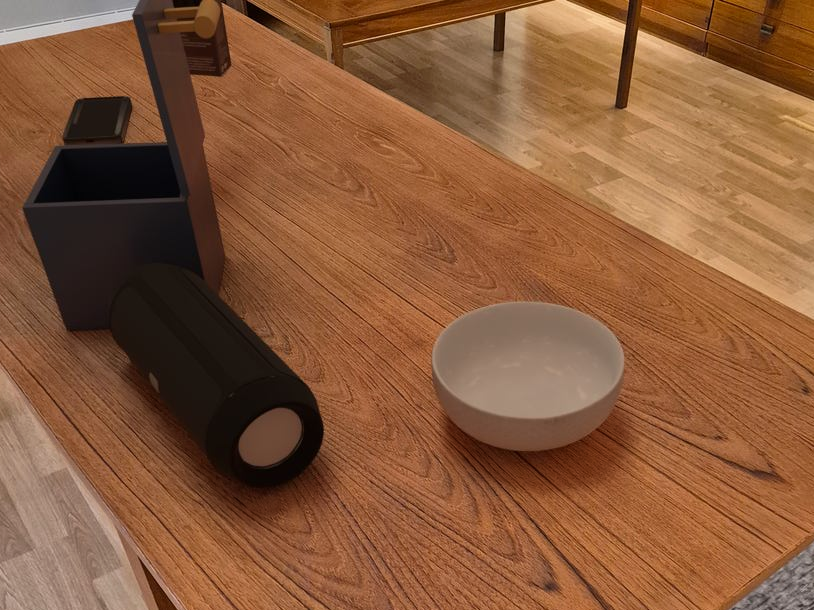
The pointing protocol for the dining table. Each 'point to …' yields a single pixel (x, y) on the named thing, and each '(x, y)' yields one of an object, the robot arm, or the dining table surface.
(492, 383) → the cereal bowl
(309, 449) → the portable speaker
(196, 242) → the chest
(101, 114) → the phone
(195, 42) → the box
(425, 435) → the dining table surface
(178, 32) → the lid
